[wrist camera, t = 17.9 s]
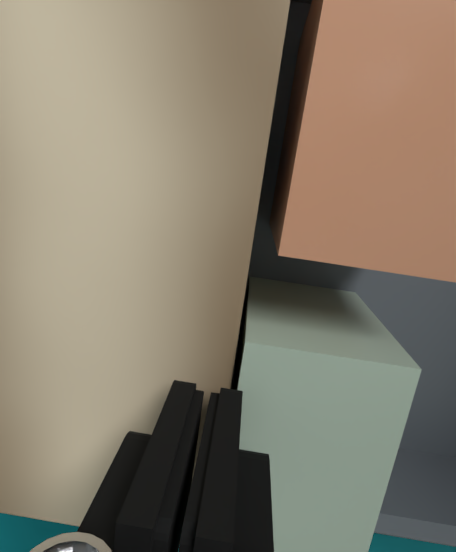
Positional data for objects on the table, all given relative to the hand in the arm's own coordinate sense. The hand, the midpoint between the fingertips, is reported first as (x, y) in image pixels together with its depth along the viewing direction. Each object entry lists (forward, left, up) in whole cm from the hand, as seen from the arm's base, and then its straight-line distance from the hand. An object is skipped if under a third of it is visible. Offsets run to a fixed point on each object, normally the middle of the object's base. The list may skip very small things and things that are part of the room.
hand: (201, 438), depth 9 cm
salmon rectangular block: (-1, -8, -3) cm, 8 cm away
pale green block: (-1, 0, -3) cm, 3 cm away
